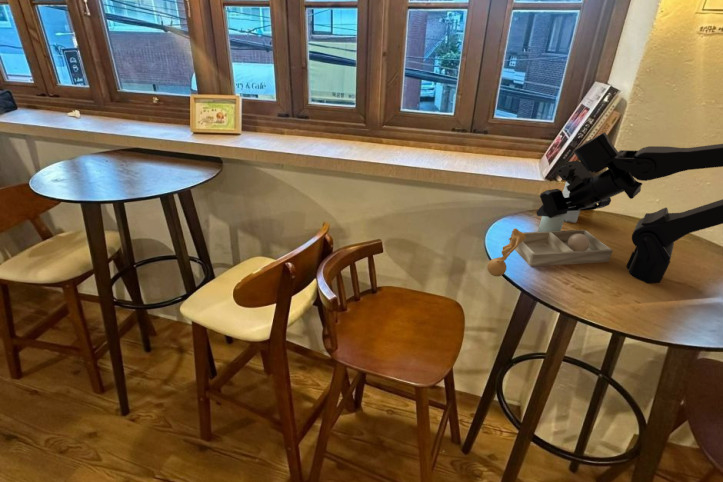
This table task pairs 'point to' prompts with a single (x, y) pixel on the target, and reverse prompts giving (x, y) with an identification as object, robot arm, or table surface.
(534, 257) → the caddy
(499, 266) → the figurine
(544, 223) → the pale blue pillar
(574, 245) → the brown egg
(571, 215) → the skincare box
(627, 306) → the table surface
